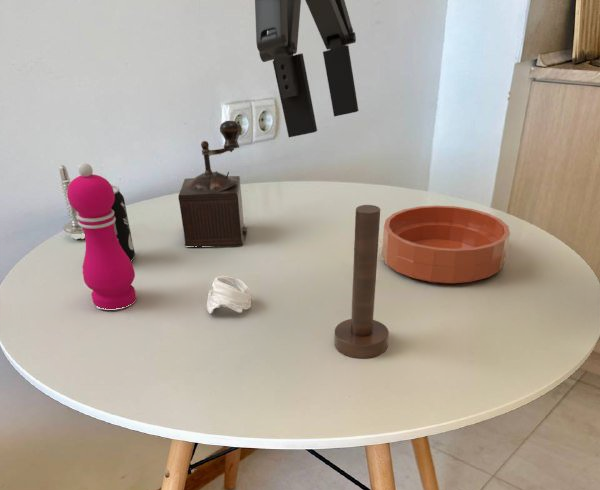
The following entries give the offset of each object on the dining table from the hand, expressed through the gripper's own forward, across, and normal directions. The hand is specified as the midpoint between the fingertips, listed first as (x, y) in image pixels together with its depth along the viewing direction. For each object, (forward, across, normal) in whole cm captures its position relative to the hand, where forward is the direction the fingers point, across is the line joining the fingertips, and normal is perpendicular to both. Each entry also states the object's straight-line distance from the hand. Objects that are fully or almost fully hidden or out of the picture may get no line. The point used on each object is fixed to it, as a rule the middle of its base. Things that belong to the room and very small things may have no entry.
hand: (326, 123), depth 61 cm
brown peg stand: (+27, -4, -2) cm, 28 cm away
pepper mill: (+18, -3, -39) cm, 43 cm away
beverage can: (+16, -15, -48) cm, 52 cm away
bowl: (+27, -33, +3) cm, 43 cm away
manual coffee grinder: (+17, -33, -37) cm, 53 cm away
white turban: (+22, -7, -23) cm, 33 cm away
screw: (+12, -22, -60) cm, 65 cm away
